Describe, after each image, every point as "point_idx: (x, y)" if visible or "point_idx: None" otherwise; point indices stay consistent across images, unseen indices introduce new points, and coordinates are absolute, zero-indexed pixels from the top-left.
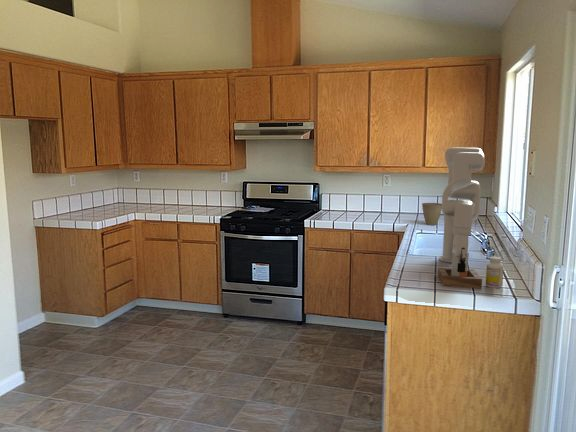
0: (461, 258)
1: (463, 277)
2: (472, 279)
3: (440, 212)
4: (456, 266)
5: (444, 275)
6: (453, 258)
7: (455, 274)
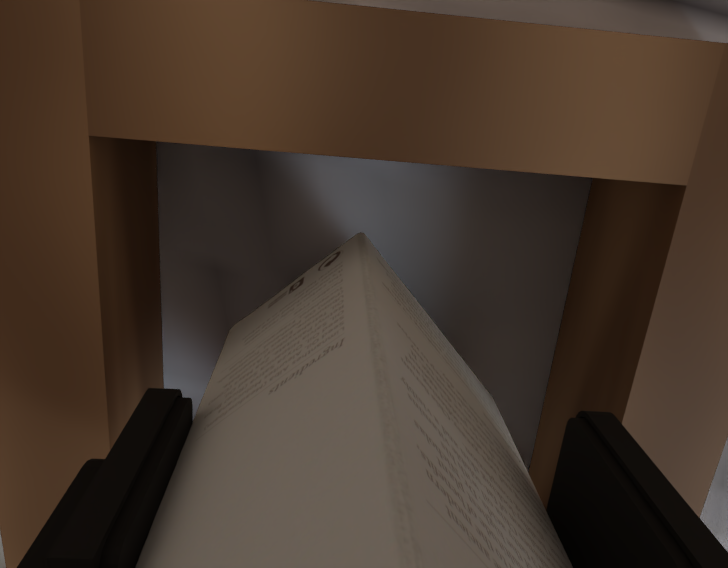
0: None
1: (37, 424)
2: (13, 542)
3: None
4: (235, 443)
5: (98, 33)
6: (346, 555)
7: (271, 327)
